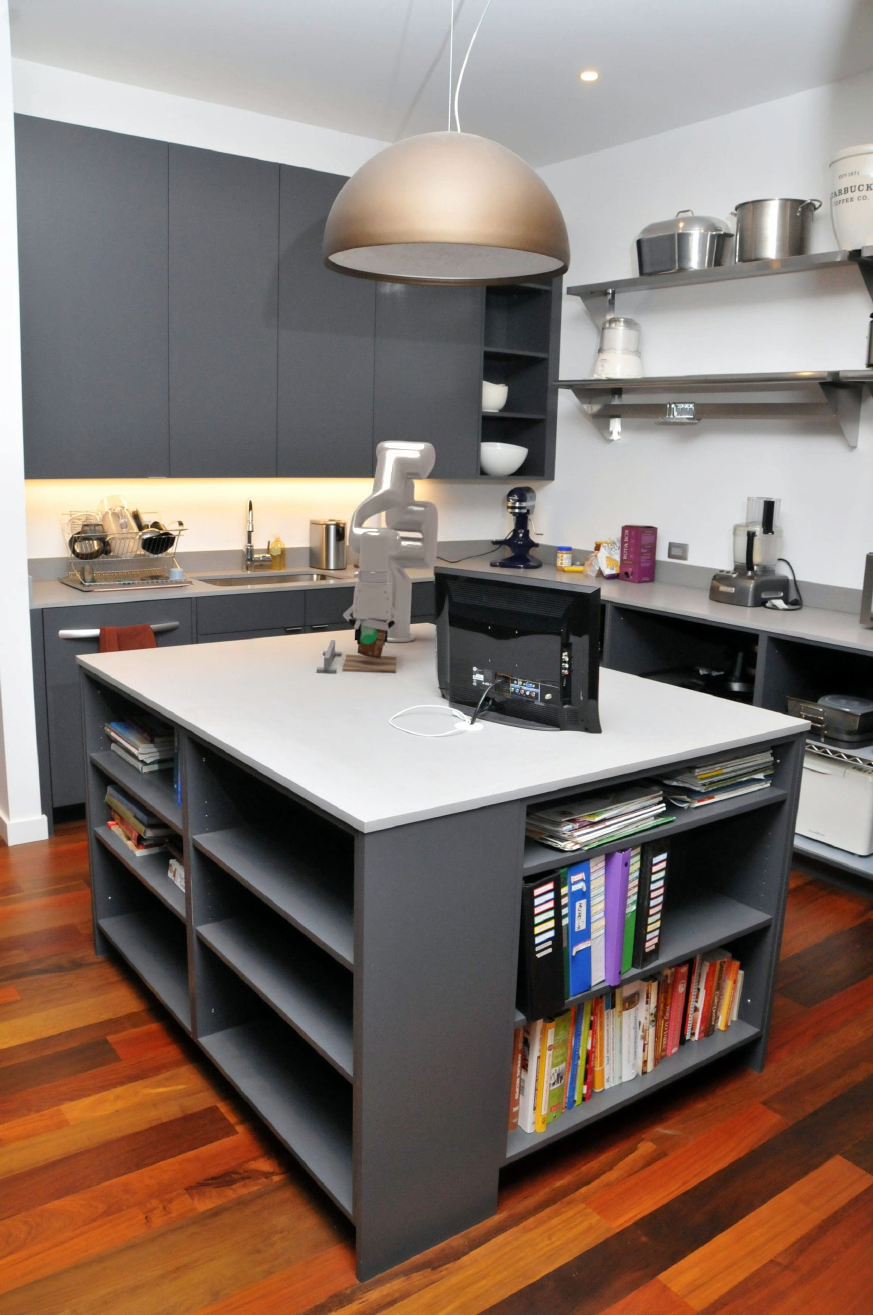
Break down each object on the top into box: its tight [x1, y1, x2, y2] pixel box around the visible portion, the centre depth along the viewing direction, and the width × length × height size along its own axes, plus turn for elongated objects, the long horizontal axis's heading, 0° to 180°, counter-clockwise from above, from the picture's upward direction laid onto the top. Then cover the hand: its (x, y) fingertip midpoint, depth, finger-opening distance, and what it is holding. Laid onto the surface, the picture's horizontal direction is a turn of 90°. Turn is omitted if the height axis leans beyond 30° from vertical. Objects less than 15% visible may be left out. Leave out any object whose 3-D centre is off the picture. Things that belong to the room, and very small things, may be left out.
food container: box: [357, 618, 388, 659], centre depth 270 cm, size 12×6×10 cm, turn 20°
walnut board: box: [342, 654, 397, 674], centre depth 272 cm, size 18×14×1 cm
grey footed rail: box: [316, 639, 343, 674], centre depth 271 cm, size 24×5×4 cm, turn 2°
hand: (370, 643), depth 270 cm, fingers closed on food container, 6 cm apart
